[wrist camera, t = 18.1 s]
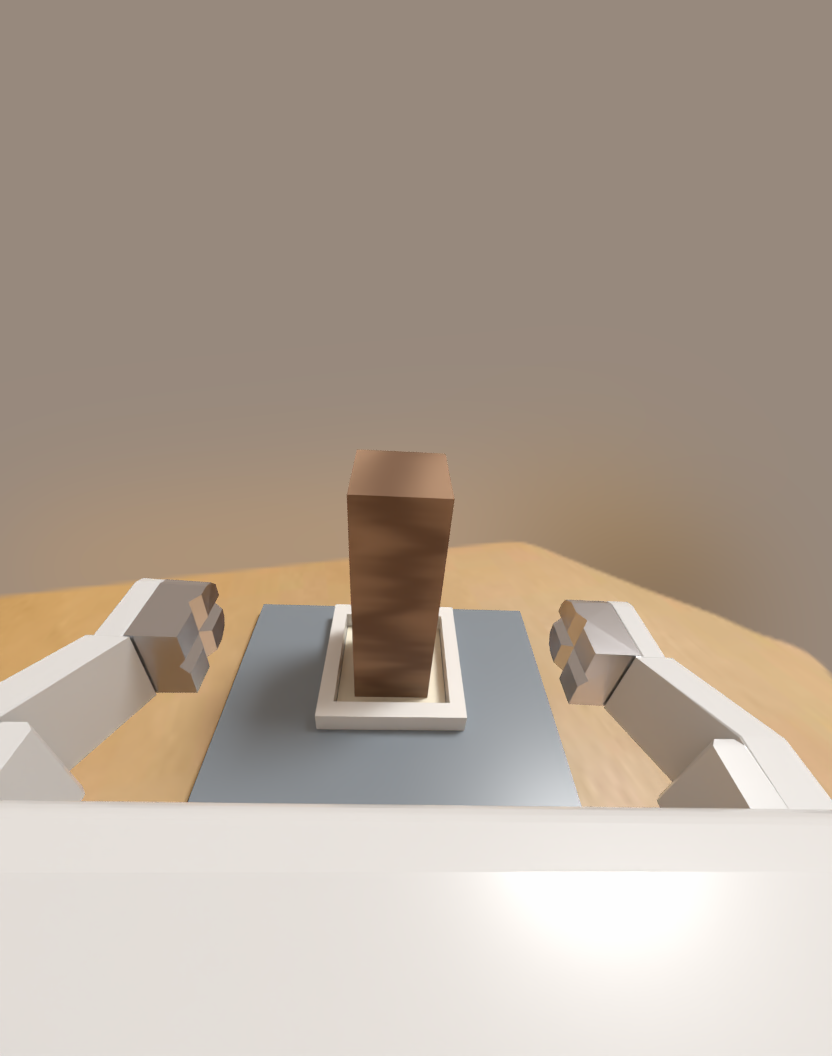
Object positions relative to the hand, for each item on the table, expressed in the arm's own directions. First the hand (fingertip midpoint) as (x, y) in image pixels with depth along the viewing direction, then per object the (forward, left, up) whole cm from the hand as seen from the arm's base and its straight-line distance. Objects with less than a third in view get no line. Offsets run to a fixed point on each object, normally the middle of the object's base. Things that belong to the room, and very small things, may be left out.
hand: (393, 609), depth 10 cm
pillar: (0, +12, -19) cm, 22 cm away
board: (0, +10, -20) cm, 22 cm away
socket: (0, +12, -20) cm, 23 cm away
